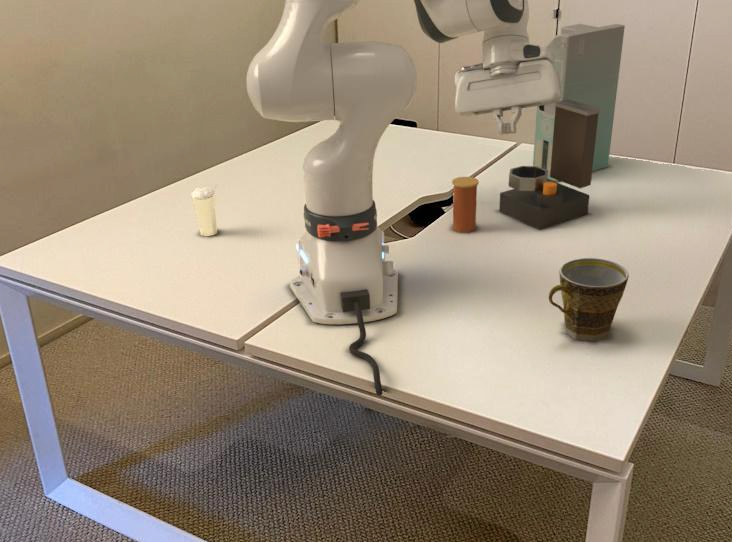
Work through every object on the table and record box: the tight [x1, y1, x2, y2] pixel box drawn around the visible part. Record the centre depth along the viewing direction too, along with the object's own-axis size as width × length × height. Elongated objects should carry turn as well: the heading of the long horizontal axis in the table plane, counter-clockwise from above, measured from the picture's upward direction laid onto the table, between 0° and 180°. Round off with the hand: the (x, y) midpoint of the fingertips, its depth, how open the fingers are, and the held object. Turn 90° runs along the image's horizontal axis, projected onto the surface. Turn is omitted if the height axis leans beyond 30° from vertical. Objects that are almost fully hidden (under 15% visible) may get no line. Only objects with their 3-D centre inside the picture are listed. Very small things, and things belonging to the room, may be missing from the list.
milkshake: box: [190, 184, 218, 237], centre depth 164 cm, size 4×5×10 cm
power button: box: [543, 181, 558, 195], centre depth 163 cm, size 3×3×2 cm
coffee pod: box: [451, 176, 480, 233], centre depth 162 cm, size 5×5×10 cm
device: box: [532, 23, 626, 183], centre depth 183 cm, size 16×8×30 cm, turn 124°
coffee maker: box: [508, 99, 600, 191], centre depth 163 cm, size 12×13×15 cm
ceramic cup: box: [548, 257, 630, 343], centre depth 126 cm, size 13×10×10 cm
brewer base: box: [498, 178, 590, 230], centre depth 168 cm, size 13×13×6 cm
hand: (507, 133), depth 161 cm, fingers closed
